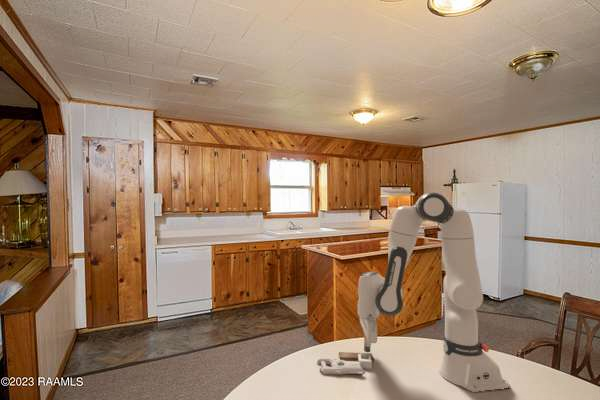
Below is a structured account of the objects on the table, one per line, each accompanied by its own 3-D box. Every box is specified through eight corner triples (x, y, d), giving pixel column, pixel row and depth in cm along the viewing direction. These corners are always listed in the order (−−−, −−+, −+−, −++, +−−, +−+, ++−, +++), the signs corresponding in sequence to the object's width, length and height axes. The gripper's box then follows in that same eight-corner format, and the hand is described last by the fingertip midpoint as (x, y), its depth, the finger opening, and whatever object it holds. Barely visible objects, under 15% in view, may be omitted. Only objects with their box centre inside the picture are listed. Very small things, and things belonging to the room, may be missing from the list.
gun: (361, 354, 118) (365, 369, 108) (362, 363, 118) (365, 378, 108) (317, 354, 120) (316, 368, 110) (317, 362, 120) (316, 377, 110)
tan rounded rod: (369, 349, 123) (370, 328, 123) (370, 352, 121) (371, 330, 121) (363, 348, 124) (364, 327, 124) (364, 352, 121) (365, 330, 121)
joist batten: (371, 355, 124) (371, 353, 124) (373, 360, 120) (373, 358, 120) (338, 354, 125) (338, 352, 125) (339, 359, 121) (339, 357, 121)
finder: (370, 362, 119) (370, 354, 119) (371, 369, 114) (371, 360, 114) (358, 361, 120) (358, 353, 120) (358, 368, 115) (358, 359, 115)
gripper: (381, 321, 112) (380, 356, 112) (371, 302, 132) (370, 332, 132) (365, 320, 112) (364, 356, 112) (357, 302, 132) (356, 332, 132)
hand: (367, 343), depth 122 cm, fingers closed on tan rounded rod, 3 cm apart
